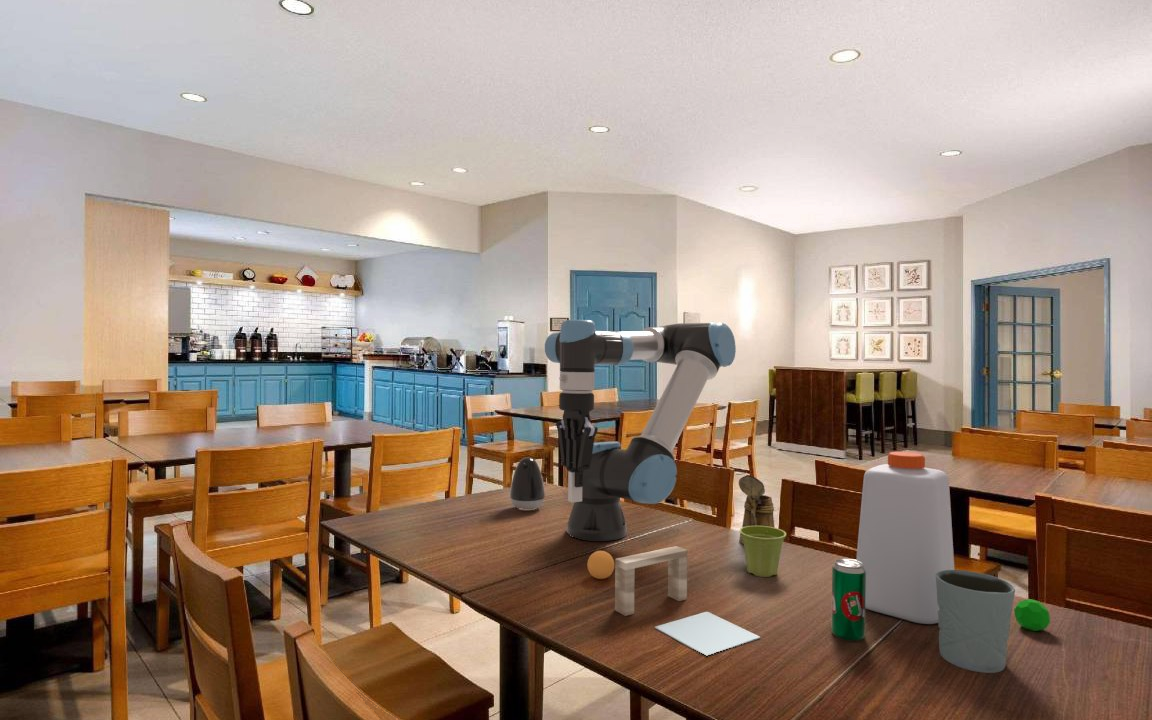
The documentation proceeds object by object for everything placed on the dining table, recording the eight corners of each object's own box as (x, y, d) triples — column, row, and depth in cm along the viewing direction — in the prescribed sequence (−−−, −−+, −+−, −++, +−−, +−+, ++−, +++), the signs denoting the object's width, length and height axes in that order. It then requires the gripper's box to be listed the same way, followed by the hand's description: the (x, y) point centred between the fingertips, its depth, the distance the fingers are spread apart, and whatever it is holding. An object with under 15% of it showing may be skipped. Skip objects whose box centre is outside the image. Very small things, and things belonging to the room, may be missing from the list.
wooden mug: (728, 549, 151) (729, 472, 151) (745, 535, 162) (746, 464, 162) (766, 555, 146) (767, 477, 146) (781, 541, 158) (782, 468, 157)
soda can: (836, 626, 108) (838, 555, 108) (868, 634, 105) (869, 562, 105) (827, 636, 104) (828, 563, 104) (859, 645, 101) (860, 570, 101)
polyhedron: (1034, 636, 105) (1034, 608, 105) (1006, 624, 110) (1007, 596, 110) (1057, 633, 106) (1058, 605, 106) (1029, 621, 111) (1029, 594, 111)
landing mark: (654, 627, 107) (654, 626, 107) (706, 612, 114) (706, 611, 114) (706, 656, 97) (706, 655, 97) (760, 638, 103) (760, 636, 103)
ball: (582, 576, 131) (582, 549, 131) (603, 571, 134) (604, 545, 134) (597, 584, 126) (597, 557, 126) (619, 579, 129) (620, 552, 129)
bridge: (614, 610, 114) (615, 558, 114) (675, 593, 122) (676, 545, 122) (625, 615, 112) (625, 563, 112) (686, 599, 120) (687, 550, 120)
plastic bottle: (962, 606, 117) (964, 454, 117) (937, 631, 107) (939, 463, 106) (876, 585, 128) (878, 445, 128) (845, 605, 117) (847, 453, 117)
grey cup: (919, 650, 100) (921, 573, 100) (963, 639, 104) (965, 565, 104) (983, 681, 91) (985, 596, 90) (1029, 668, 95) (1030, 587, 94)
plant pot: (788, 582, 129) (788, 539, 129) (740, 578, 131) (740, 536, 131) (782, 567, 138) (783, 527, 138) (737, 563, 140) (738, 524, 140)
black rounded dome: (505, 512, 183) (505, 459, 183) (514, 504, 193) (515, 454, 193) (540, 514, 181) (540, 460, 181) (548, 506, 191) (548, 455, 191)
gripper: (546, 390, 141) (544, 497, 141) (578, 393, 130) (577, 509, 130) (574, 389, 145) (573, 493, 145) (608, 393, 134) (606, 505, 135)
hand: (575, 501), depth 138 cm, fingers closed
